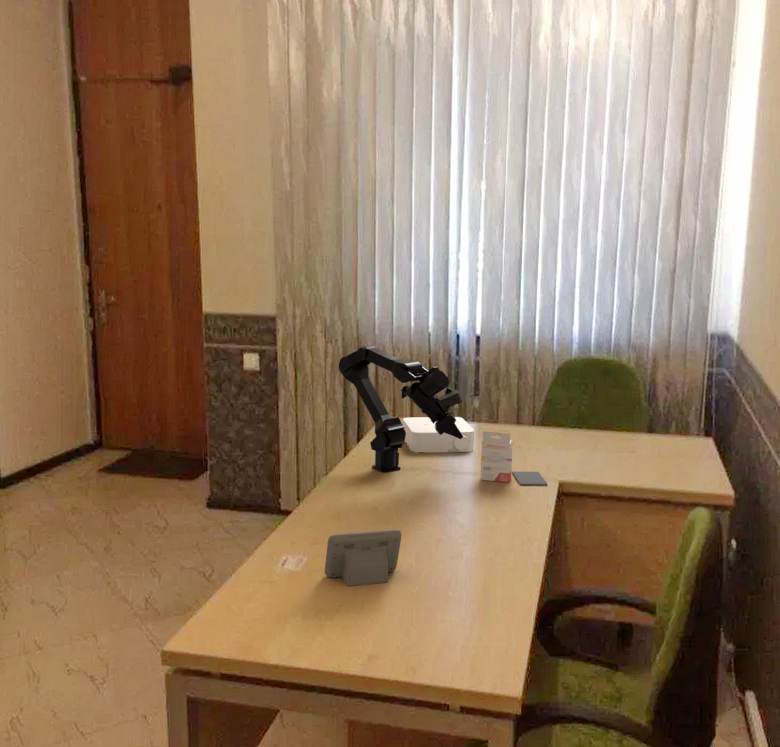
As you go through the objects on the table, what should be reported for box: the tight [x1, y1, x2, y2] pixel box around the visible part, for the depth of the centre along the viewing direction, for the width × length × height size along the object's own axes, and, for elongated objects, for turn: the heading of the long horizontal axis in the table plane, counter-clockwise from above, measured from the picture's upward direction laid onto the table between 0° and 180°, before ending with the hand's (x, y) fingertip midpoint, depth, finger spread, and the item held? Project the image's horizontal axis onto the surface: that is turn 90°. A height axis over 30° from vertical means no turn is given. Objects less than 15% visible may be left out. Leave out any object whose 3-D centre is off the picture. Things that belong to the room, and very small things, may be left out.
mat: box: [511, 470, 548, 486], centre depth 260 cm, size 8×12×1 cm, turn 3°
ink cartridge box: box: [480, 430, 514, 483], centre depth 258 cm, size 9×5×15 cm, turn 73°
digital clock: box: [324, 529, 402, 587], centre depth 187 cm, size 16×9×11 cm, turn 95°
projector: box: [402, 416, 475, 453], centre depth 296 cm, size 21×22×7 cm
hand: (461, 437), depth 257 cm, fingers closed
